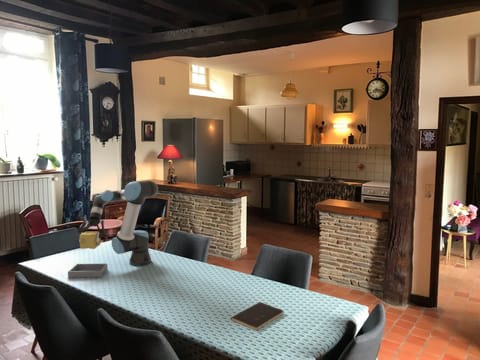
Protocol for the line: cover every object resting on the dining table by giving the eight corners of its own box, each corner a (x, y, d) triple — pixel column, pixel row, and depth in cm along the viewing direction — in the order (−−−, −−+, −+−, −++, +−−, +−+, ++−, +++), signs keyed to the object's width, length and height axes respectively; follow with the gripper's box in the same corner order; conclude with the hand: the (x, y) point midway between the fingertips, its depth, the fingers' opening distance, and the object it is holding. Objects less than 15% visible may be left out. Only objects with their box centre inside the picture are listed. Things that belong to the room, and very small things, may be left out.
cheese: (94, 249, 251) (94, 234, 250) (79, 248, 251) (78, 234, 250) (101, 244, 261) (100, 230, 260) (86, 244, 262) (85, 230, 260)
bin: (107, 270, 253) (107, 263, 252) (100, 278, 238) (100, 271, 237) (77, 270, 252) (76, 263, 251) (68, 278, 237) (67, 271, 236)
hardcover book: (283, 314, 192) (283, 310, 192) (256, 332, 175) (256, 327, 174) (259, 305, 202) (259, 301, 202) (230, 321, 185) (230, 316, 185)
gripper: (113, 217, 270) (107, 244, 256) (81, 217, 269) (73, 244, 256) (110, 211, 264) (104, 239, 250) (78, 211, 263) (69, 239, 250)
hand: (88, 242), depth 253 cm, fingers closed on cheese, 11 cm apart
